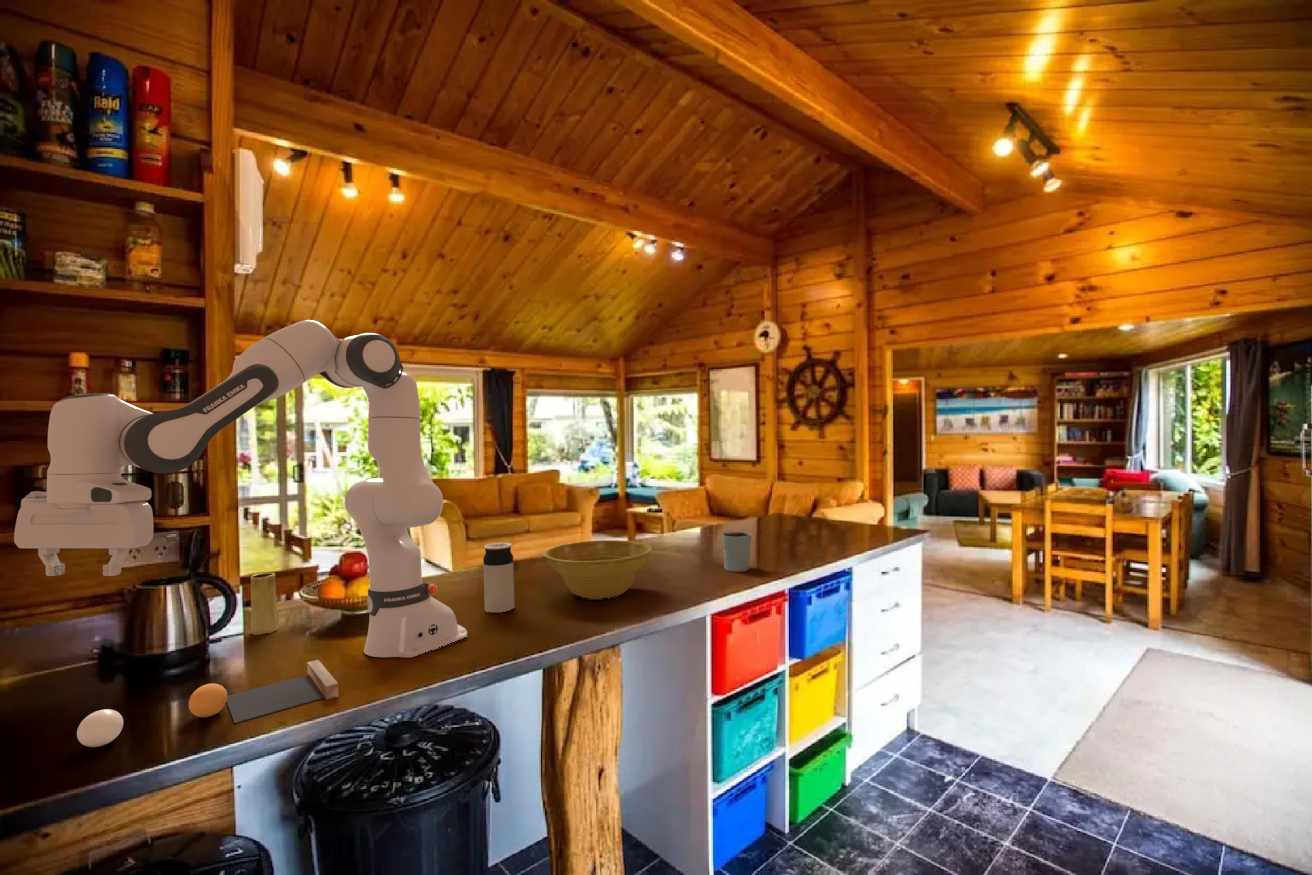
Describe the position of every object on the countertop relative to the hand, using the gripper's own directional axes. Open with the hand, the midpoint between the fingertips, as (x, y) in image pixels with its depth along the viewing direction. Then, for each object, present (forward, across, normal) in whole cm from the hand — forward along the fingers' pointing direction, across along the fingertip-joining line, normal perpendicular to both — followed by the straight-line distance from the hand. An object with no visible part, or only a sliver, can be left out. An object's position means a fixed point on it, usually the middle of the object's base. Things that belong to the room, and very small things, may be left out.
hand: (83, 575), depth 98 cm
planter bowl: (+23, +76, +82) cm, 114 cm away
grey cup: (+21, +121, +110) cm, 165 cm away
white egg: (+24, +4, -1) cm, 25 cm away
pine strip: (+26, +28, +21) cm, 43 cm away
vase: (+26, -6, +53) cm, 60 cm away
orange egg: (+24, +14, +8) cm, 29 cm away
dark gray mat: (+26, +22, +15) cm, 38 cm away
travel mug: (+24, +50, +68) cm, 87 cm away
